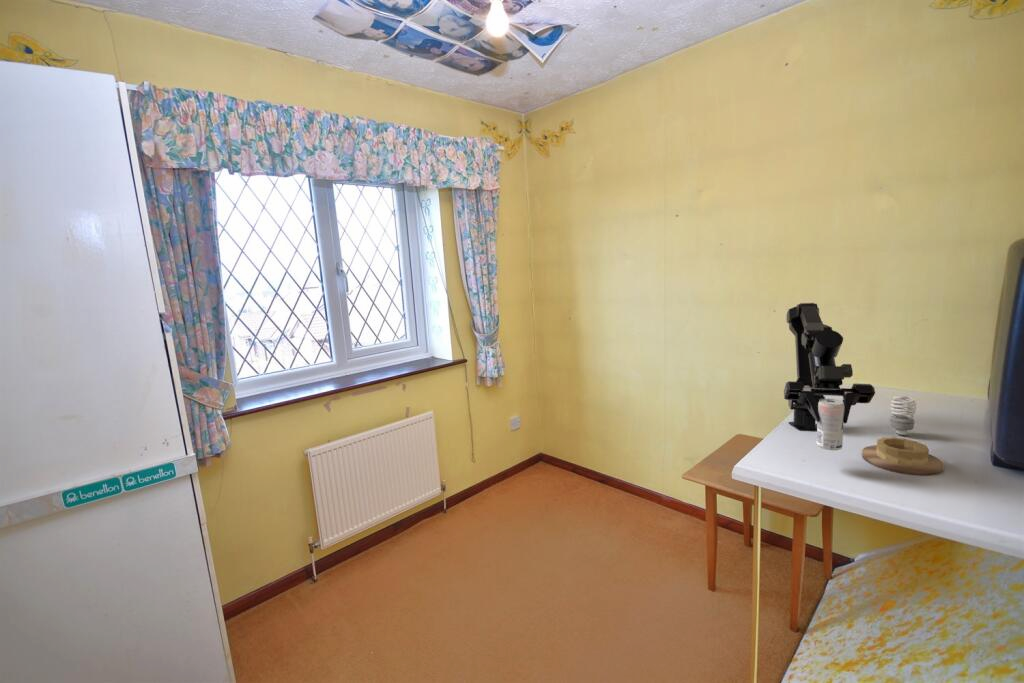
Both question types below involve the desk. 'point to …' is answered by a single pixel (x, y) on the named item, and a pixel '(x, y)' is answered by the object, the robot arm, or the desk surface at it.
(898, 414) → the light bulb
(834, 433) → the energy drink
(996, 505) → the desk surface
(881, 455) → the can stand
